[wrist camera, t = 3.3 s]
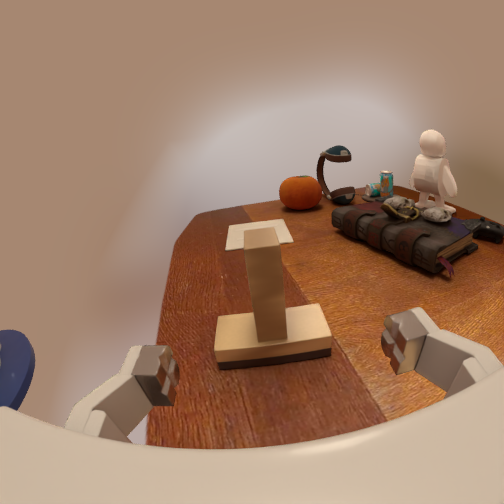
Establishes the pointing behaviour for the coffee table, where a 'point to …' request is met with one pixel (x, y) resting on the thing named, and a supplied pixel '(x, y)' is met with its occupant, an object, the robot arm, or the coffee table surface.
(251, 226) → the flat beige rectangular tile
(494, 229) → the game controller
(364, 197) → the soda cans on board
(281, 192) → the fruit
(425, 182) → the toy robot
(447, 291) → the coffee table surface
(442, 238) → the book
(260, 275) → the wooden post on base
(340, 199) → the headphones
